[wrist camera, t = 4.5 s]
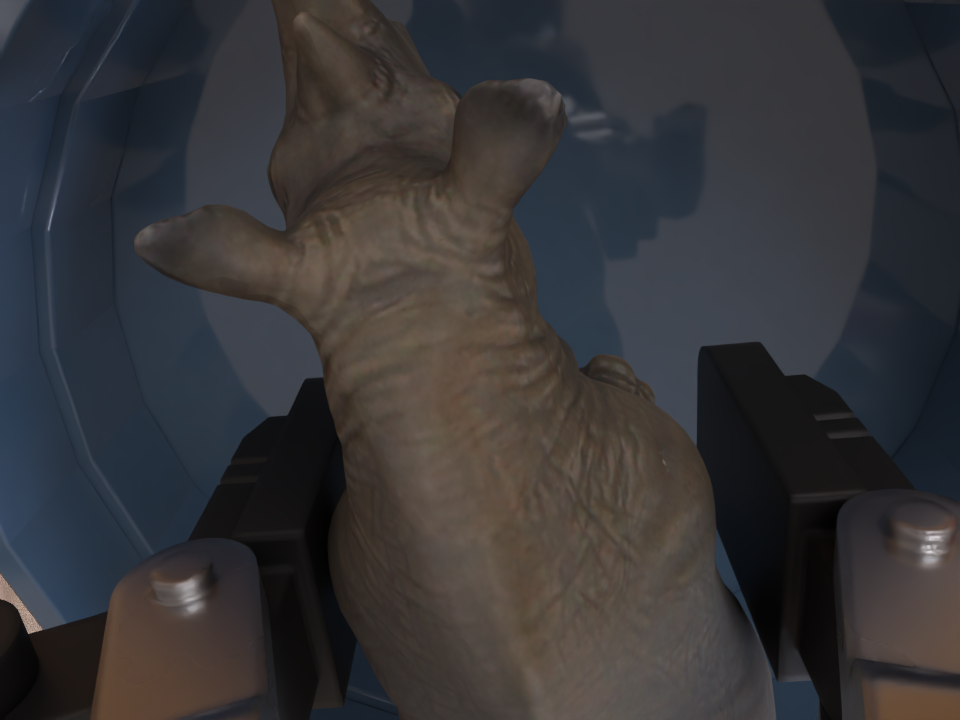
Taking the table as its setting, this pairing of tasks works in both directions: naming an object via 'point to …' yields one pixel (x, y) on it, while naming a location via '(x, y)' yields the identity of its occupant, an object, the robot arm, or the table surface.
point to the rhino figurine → (472, 405)
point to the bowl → (539, 214)
